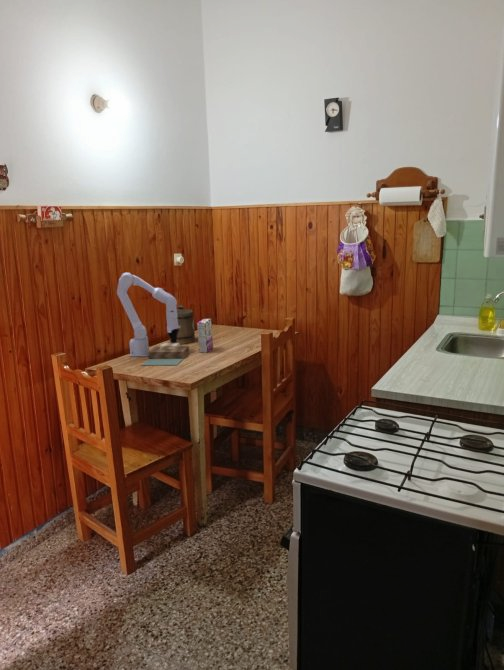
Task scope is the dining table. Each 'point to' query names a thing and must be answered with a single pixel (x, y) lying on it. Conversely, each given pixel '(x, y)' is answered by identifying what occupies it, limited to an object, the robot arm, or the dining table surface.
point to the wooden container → (185, 326)
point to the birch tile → (169, 346)
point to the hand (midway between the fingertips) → (174, 343)
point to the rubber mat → (162, 362)
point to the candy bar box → (205, 335)
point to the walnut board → (169, 353)
